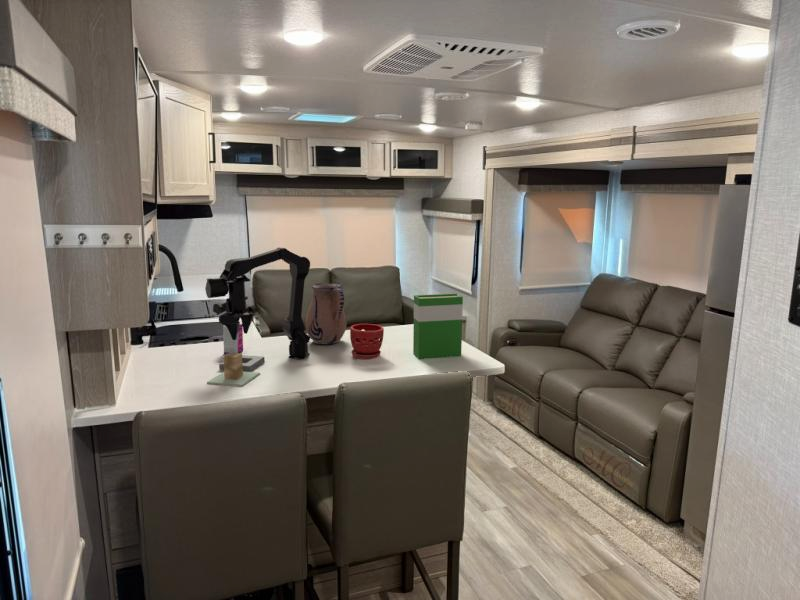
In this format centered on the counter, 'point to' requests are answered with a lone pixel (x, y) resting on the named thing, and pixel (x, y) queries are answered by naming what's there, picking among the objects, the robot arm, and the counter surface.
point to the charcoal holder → (248, 363)
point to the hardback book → (437, 326)
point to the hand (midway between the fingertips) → (240, 336)
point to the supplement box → (233, 341)
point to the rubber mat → (239, 382)
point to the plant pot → (366, 340)
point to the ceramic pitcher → (326, 314)
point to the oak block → (233, 366)
